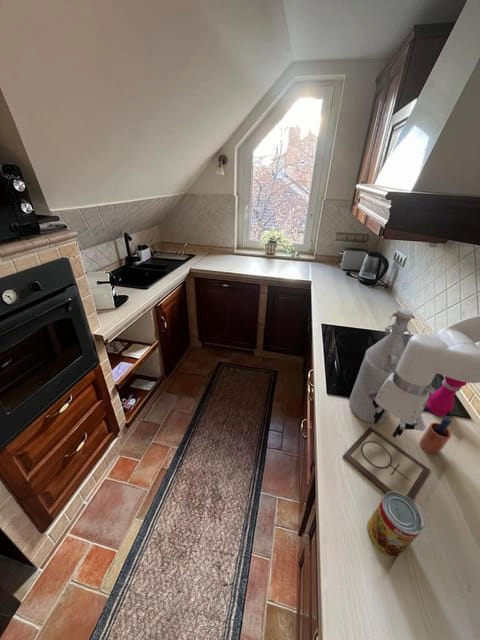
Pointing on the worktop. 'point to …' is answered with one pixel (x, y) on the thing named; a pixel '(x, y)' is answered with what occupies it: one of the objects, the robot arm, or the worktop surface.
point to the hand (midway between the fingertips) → (386, 427)
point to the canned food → (395, 523)
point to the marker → (443, 426)
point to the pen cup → (434, 440)
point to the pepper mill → (444, 396)
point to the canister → (379, 367)
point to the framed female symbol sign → (386, 464)
